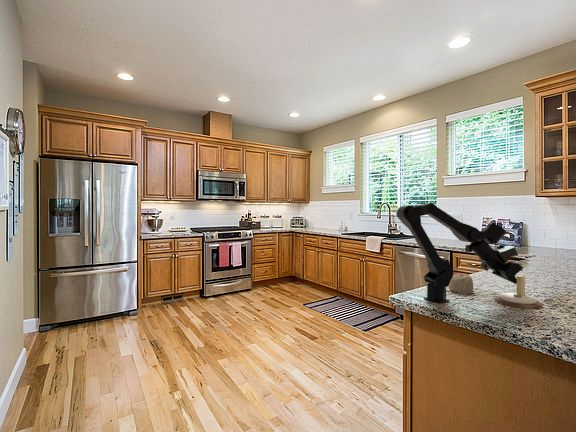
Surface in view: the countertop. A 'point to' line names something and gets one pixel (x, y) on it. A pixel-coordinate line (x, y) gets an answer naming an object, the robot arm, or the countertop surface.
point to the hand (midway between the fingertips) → (516, 282)
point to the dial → (519, 294)
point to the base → (527, 306)
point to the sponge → (461, 283)
